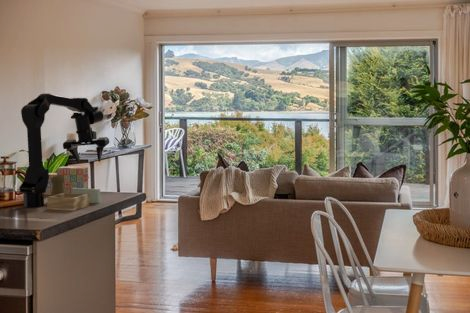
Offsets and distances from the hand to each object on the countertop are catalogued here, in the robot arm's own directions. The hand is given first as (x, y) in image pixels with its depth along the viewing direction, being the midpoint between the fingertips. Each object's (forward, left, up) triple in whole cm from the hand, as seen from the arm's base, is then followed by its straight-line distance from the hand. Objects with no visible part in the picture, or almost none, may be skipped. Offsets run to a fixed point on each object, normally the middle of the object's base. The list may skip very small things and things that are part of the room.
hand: (89, 162), depth 244 cm
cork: (-17, -4, -15) cm, 23 cm away
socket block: (-21, -21, -14) cm, 33 cm away
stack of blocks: (-4, +16, -15) cm, 23 cm away
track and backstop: (-18, -20, -15) cm, 31 cm away
